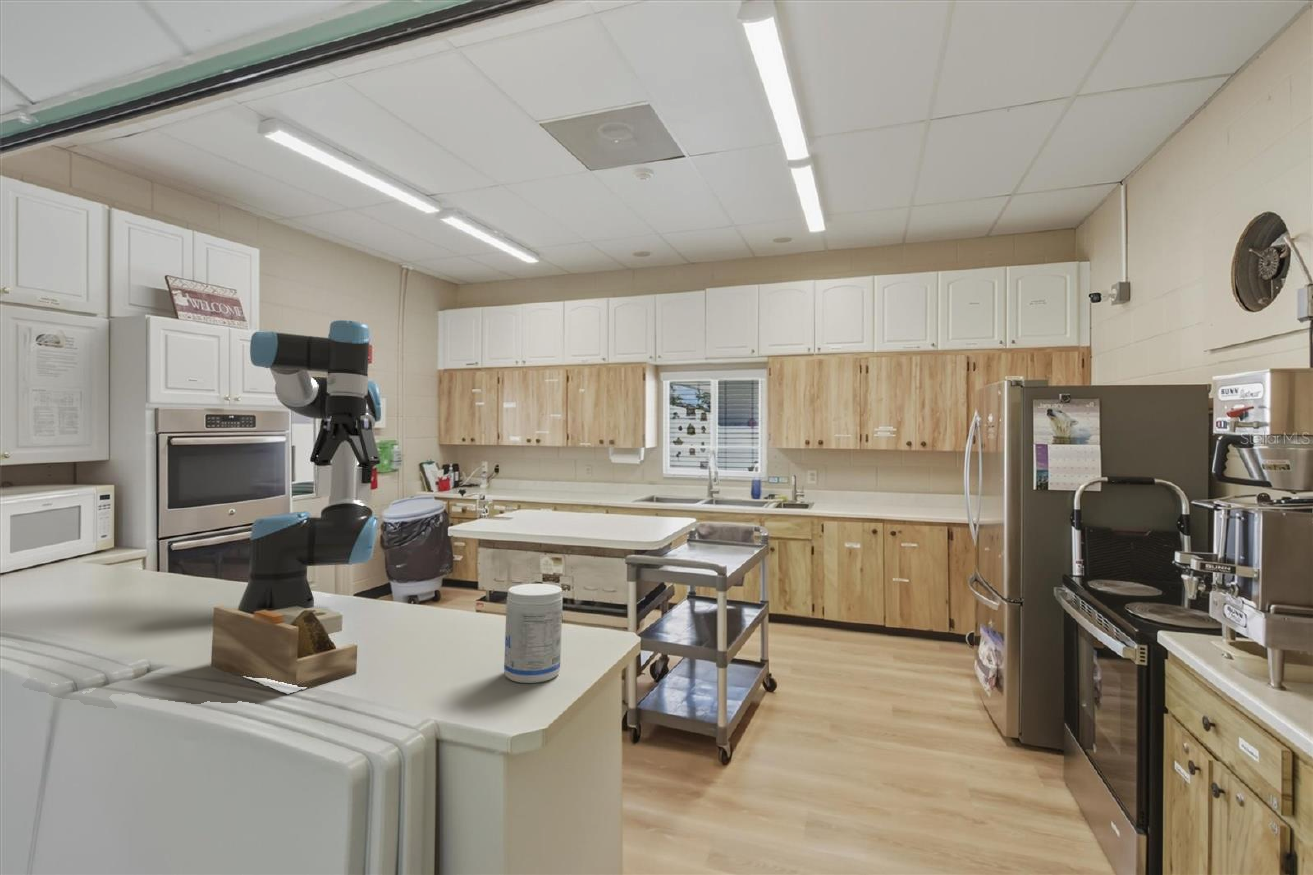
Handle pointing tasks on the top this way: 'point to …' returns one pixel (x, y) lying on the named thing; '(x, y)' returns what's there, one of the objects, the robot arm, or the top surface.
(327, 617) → the grey cinder block
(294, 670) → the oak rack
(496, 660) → the top surface
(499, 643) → the top surface
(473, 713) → the top surface
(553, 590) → the supplement tub
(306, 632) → the rock
